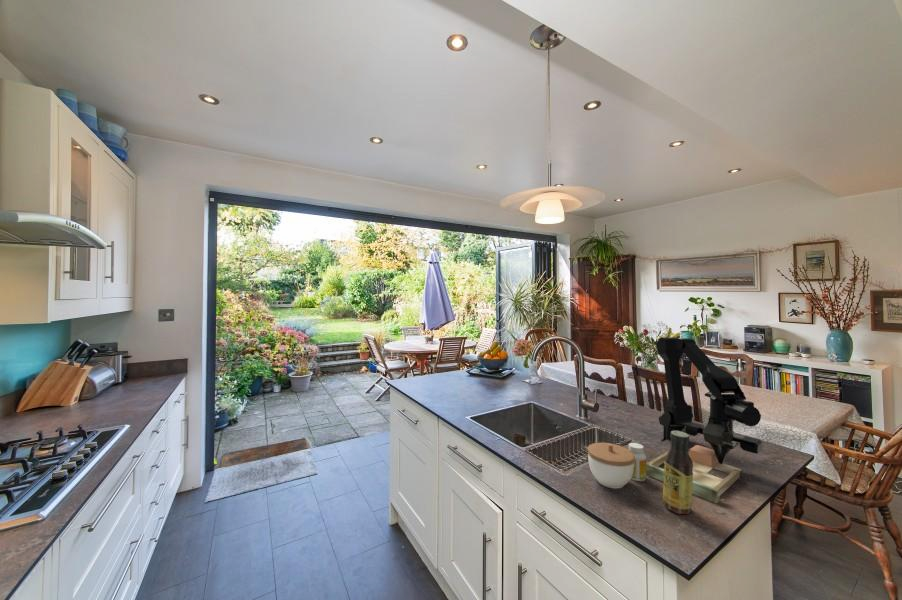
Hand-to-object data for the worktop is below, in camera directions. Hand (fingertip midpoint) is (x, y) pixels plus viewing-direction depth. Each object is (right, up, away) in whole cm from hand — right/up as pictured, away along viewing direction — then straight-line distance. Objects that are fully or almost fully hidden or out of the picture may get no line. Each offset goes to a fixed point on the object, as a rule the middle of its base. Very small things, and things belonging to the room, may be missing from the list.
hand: (721, 463), depth 107 cm
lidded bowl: (-38, -3, -7) cm, 39 cm away
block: (-3, -1, +4) cm, 5 cm away
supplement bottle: (-29, -3, -4) cm, 29 cm away
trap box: (-9, -2, -2) cm, 10 cm away
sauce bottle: (-27, -3, -19) cm, 33 cm away
